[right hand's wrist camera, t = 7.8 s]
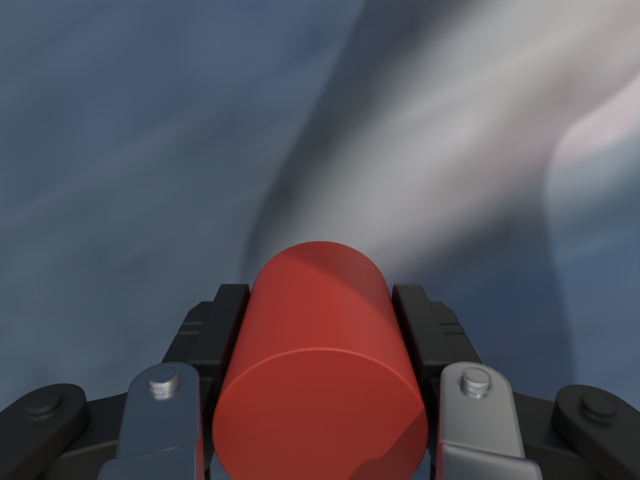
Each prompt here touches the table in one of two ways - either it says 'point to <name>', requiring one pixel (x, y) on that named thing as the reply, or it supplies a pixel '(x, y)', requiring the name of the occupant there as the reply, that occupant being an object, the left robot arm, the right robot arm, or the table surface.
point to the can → (320, 376)
